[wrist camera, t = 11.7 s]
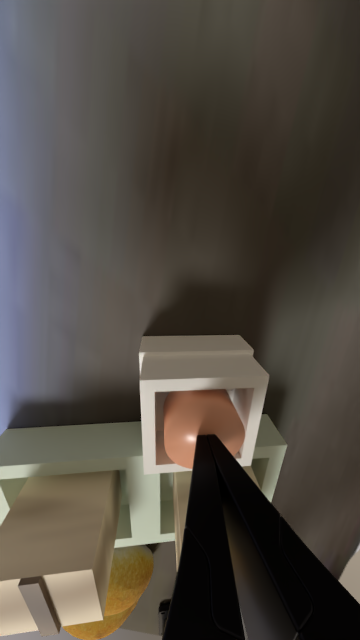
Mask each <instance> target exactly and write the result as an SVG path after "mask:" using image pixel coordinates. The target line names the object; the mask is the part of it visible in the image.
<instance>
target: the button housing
mask: <svg viewBox="0 0 360 640" xmlns="http://www.w3.org/2000/svg"><path fill="white" fill-rule="evenodd" d="M253 353H254V350H253V348H252V347H251V346H250V345H249V344H248V343H247V342H246V341H245V340H244V339H243V338H242V337H241V336H240V335H197V336H142V340H141V345H140V350H139V362H140V401H141V423H142V445H143V468H144V475H146V474H158V473H170V472H182V471H192V469H190V468H185V467H182V466H180V465H178V464H176V463H175V462H173V461H172V460H171V459H170V458H169V456H168V455H167V453H166V451H165V446H164V413H163V407H164V402H165V399H166V397H167V395H168V394H169V393H170V391H188V390H212V389H226V391H227V392H228V394H229V396H230V399H231V401H232V403H233V405H234V407H235V409H236V411H237V413H238V415H239V417H240V419H241V421H242V423H243V426H244V429H245V439H244V442H243V444H242V446H241V448H240V450H239V451H238V452H237V453H236V454H235V455H234V458H235V459H236V460H237V461H238V463H239V464H240V465H241V466H251V462H252V457H253V453H254V448H255V443H256V438H257V433H258V429H259V424H260V419H261V414H262V410H263V405H264V400H265V395H266V390H267V386H268V381H269V375H268V373H267V372H266V371H265V370H264V369H263V368H262V367H261V366H260V364H259V363H258V362H257V361H256V360H255V359H254V358H253Z"/></svg>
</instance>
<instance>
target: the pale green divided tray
mask: <svg viewBox="0 0 360 640" xmlns="http://www.w3.org/2000/svg"><path fill="white" fill-rule="evenodd" d="M286 448H287V444H286V442H285V441H284V439H283V438H282V436H281V435H280V433H279V432H278V430H277V429H276V427H275V426H274V424H273V423H272V421H271V419H270V418H269V416H268V415H267V414H261V419H260V424H259V429H258V433H257V438H256V443H255V448H254V453H253V457H252V462H251V468H252V470H253V473H254V475H255V477H256V480H257V482H258V484H259V487H260V489H261V491H262V492H263V494H264V495H265V496H266V497H267V499H268V500H269V501H270V502H271V501H272V498H273V494H274V490H275V487H276V483H277V480H278V476H279V473H280V469H281V466H282V462H283V458H284V455H285V451H286ZM110 470H119V472H120V482H121V492H122V500H121V506H120V513H119V520H118V526H117V533H116V539H115V546H114V548H118V547H126V546H135V545H143V544H151V543H159V542H168V541H175V526H174V508H173V472H170V473H158V474H146V475H144V468H143V445H142V423H141V421H138V422H121V423H103V424H86V425H69V426H51V427H34V428H16V429H6V430H5V431H4V432H3V434H2V435H1V436H0V526H1V524H2V522H3V521H4V519H5V517H6V515H7V514H8V512H9V510H10V508H11V507H12V505H13V503H14V502H15V500H16V498H17V496H18V495H19V493H20V491H21V489H22V488H23V486H24V484H25V483H26V481H27V479H28V477H37V476H49V475H61V474H73V473H86V472H98V471H110Z"/></svg>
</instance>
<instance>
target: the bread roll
mask: <svg viewBox="0 0 360 640" xmlns="http://www.w3.org/2000/svg"><path fill="white" fill-rule="evenodd" d="M152 572H153V555H152V552H151V550H150V549H149V548H148V547H147V546H146V545H145V544H143V545H135V546H126V547H118V548H114V553H113V559H112V566H111V572H110V579H109V586H108V592H107V599H106V605H105V612H104V618H103V620H100V621H94V622H88V623H81V624H75V625H68V626H62V627H63V628H64V630H65V631H67V632H68V633H70V634H71V635H72V636H74V637H77V638H79V639H84V640H96V639H101V638H104V637H106V636H108V635H110V634H111V633H113V632H114V631H116V630H117V629H118V628H119V627H120V626H121V625H122V624H123V622H124V621H125V620H126V619H127V617H128V616H129V615H130V614H131V612H132V611H133V609H134V608H135V606H136V604H137V602H138V600H139V598H140V596H141V595H142V593H143V592H144V590H145V589H146V587H147V586H148V583H149V581H150V578H151V575H152Z"/></svg>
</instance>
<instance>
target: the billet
mask: <svg viewBox="0 0 360 640" xmlns="http://www.w3.org/2000/svg"><path fill="white" fill-rule="evenodd" d="M121 500H122V492H121V482H120V472H119V470H110V471H98V472H86V473H73V474H61V475H49V476H37V477H28V479H27V481H26V483H25V484H24V486H23V488H22V489H21V491H20V493H19V495H18V496H17V498H16V500H15V502H14V503H13V505H12V507H11V508H10V510H9V512H8V514H7V515H6V517H5V519H4V521H3V522H2V524H1V526H0V636H5V635H11V634H17V633H24V632H30V631H37V630H39V632H40V634H41V636H49V635H55V634H59V631H60V627H62V626H68V625H75V624H81V623H88V622H94V621H100V620H103V618H104V612H105V605H106V599H107V592H108V586H109V579H110V572H111V566H112V559H113V553H114V546H115V539H116V533H117V526H118V520H119V513H120V506H121Z"/></svg>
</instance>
